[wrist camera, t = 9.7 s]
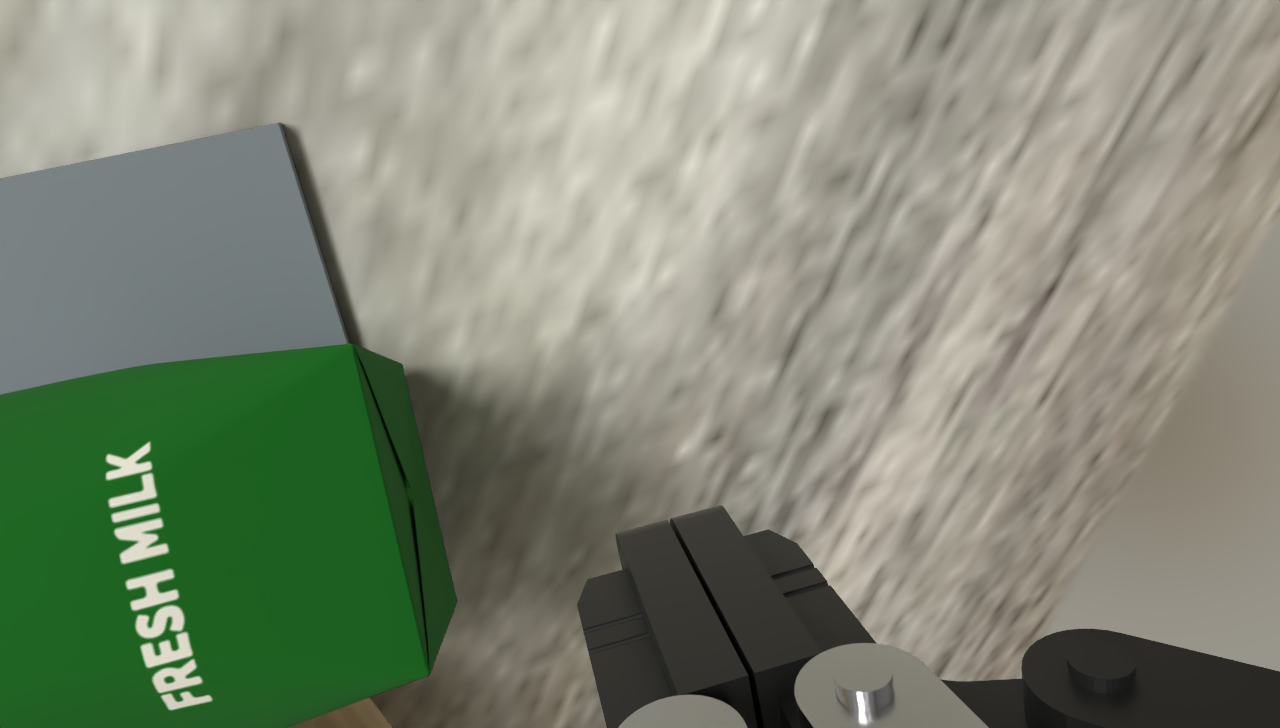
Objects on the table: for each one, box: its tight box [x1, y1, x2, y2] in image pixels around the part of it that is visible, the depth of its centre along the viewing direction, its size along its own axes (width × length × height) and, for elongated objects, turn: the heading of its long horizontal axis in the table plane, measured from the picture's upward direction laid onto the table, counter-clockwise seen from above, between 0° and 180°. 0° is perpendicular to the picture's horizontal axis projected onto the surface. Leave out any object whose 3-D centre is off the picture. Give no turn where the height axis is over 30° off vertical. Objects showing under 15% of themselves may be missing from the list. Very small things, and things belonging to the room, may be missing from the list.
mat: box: [0, 123, 350, 395], centre depth 24 cm, size 16×15×1 cm
